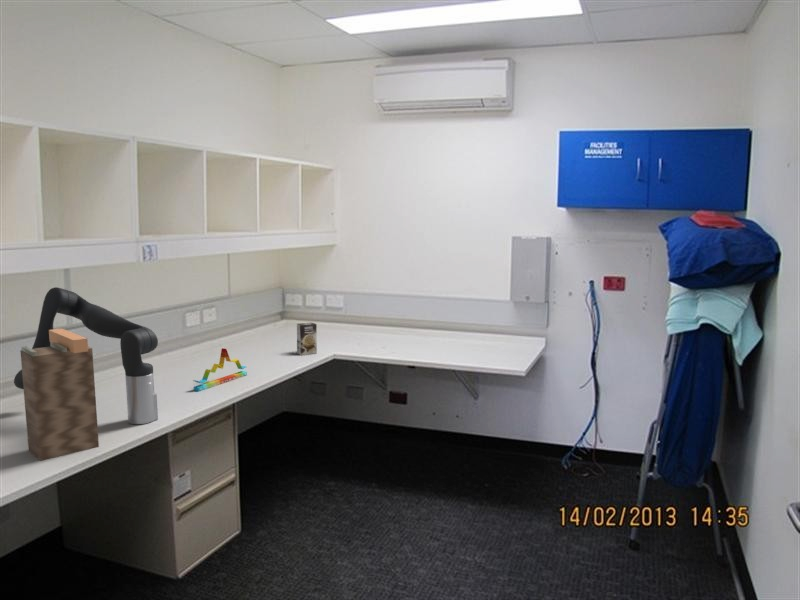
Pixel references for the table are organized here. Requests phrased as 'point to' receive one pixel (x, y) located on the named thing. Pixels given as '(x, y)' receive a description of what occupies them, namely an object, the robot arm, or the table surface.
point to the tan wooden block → (69, 340)
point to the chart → (224, 379)
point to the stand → (59, 400)
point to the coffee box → (306, 338)
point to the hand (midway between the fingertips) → (50, 349)
